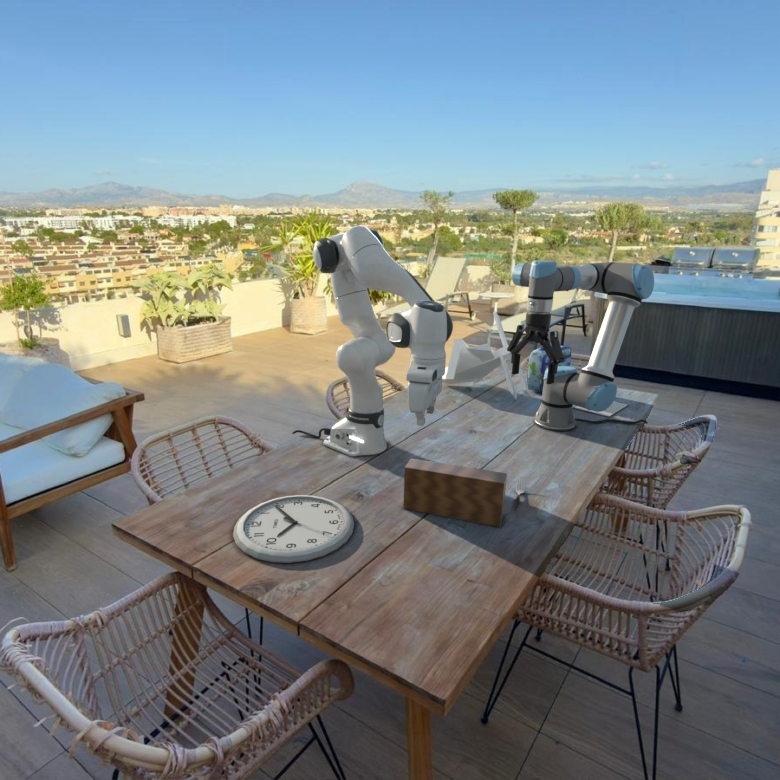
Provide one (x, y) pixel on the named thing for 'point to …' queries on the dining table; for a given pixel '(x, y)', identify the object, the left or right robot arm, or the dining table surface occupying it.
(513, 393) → the white plastic object
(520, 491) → the fork
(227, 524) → the dining table surface
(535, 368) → the lunch box
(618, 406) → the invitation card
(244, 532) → the wall clock
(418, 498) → the box
